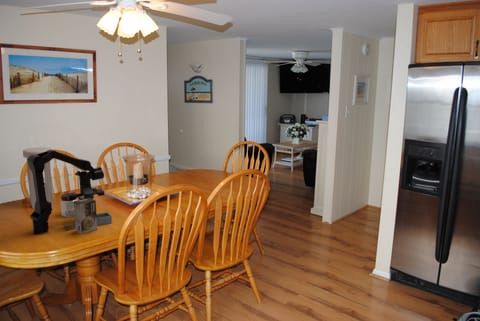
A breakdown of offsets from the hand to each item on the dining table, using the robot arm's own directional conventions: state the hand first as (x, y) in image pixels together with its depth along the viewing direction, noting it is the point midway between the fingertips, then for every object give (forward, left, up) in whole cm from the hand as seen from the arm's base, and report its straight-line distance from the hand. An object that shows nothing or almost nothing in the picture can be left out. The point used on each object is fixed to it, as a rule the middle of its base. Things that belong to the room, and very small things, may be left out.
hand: (87, 209), depth 215 cm
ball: (-8, -9, +3) cm, 12 cm away
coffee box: (-4, -16, -6) cm, 18 cm away
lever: (-6, -5, 0) cm, 8 cm away
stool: (-18, +42, -6) cm, 46 cm away
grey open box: (+6, -9, -6) cm, 12 cm away
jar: (-7, +13, -6) cm, 16 cm away
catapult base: (-6, -9, -6) cm, 12 cm away
